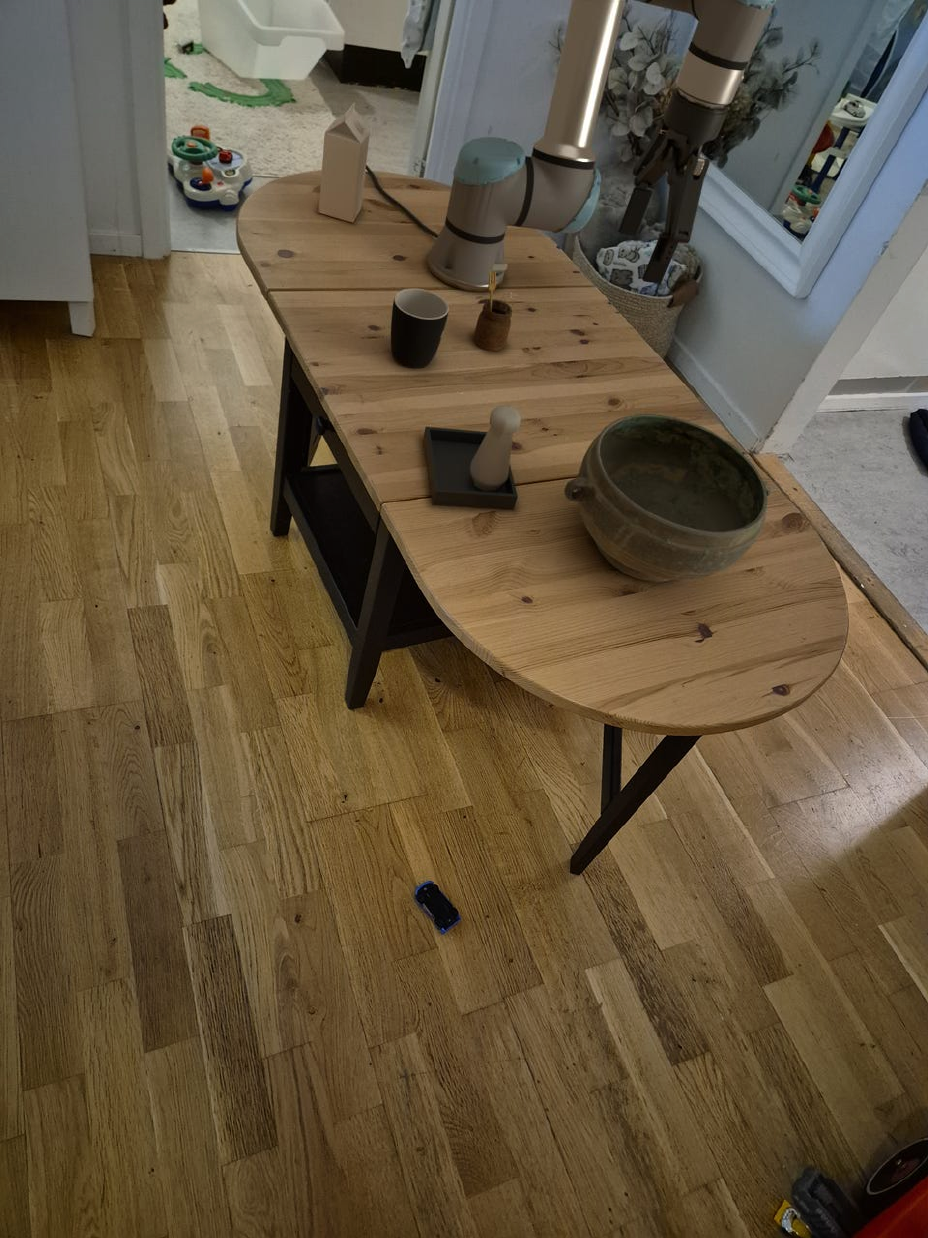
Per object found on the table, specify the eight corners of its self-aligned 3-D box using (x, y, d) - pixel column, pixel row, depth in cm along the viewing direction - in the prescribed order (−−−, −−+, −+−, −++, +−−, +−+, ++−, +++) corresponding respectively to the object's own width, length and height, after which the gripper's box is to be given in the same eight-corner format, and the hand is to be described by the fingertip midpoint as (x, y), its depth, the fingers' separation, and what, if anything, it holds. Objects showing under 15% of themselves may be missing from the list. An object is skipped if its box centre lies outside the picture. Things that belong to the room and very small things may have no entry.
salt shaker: (458, 477, 118) (478, 406, 108) (485, 464, 121) (506, 393, 111) (485, 501, 116) (508, 430, 106) (512, 487, 119) (536, 417, 109)
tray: (422, 439, 123) (425, 426, 121) (498, 446, 126) (502, 433, 124) (432, 504, 114) (435, 491, 112) (513, 509, 117) (518, 496, 115)
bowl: (700, 485, 131) (744, 411, 119) (770, 609, 116) (828, 538, 104) (517, 484, 121) (546, 403, 110) (568, 619, 106) (608, 542, 95)
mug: (442, 374, 135) (455, 320, 127) (391, 372, 132) (400, 317, 124) (426, 333, 141) (437, 279, 134) (377, 330, 138) (385, 275, 131)
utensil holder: (488, 355, 141) (505, 292, 132) (465, 336, 143) (480, 273, 134) (511, 347, 144) (529, 285, 135) (488, 328, 147) (504, 266, 137)
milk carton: (318, 213, 160) (326, 108, 145) (327, 199, 164) (336, 96, 150) (352, 223, 160) (363, 120, 146) (361, 209, 165) (372, 107, 150)
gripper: (763, 143, 95) (687, 306, 111) (698, 65, 110) (639, 219, 126) (706, 132, 93) (637, 299, 109) (648, 54, 108) (595, 211, 124)
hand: (638, 256), depth 117 cm, fingers open, 13 cm apart
